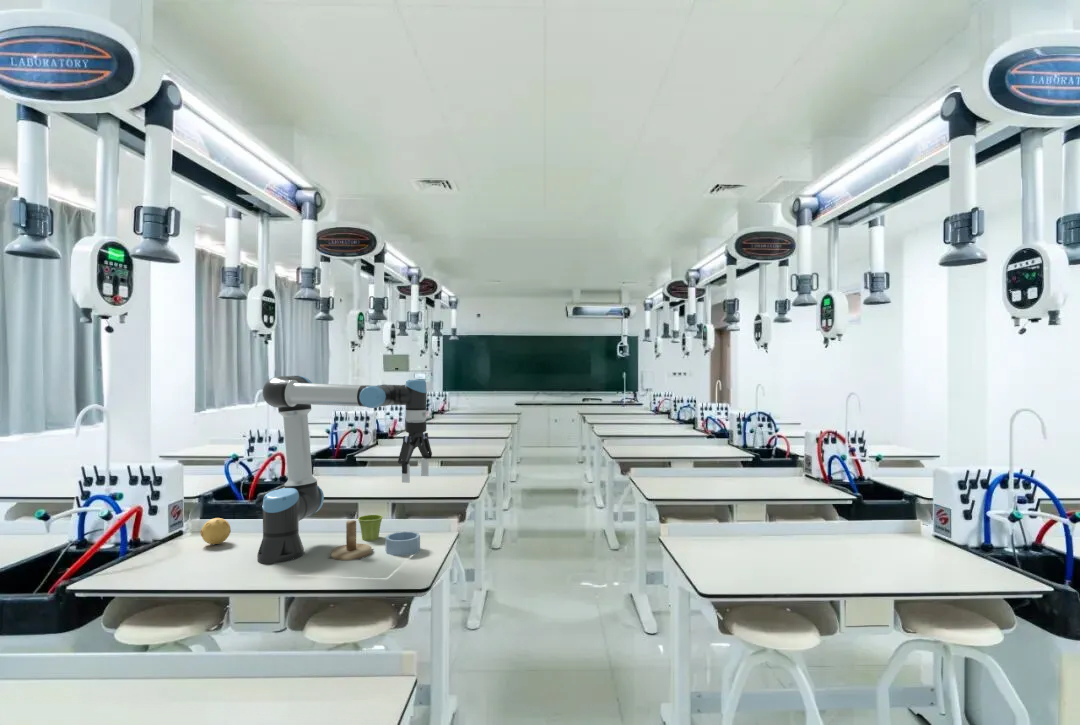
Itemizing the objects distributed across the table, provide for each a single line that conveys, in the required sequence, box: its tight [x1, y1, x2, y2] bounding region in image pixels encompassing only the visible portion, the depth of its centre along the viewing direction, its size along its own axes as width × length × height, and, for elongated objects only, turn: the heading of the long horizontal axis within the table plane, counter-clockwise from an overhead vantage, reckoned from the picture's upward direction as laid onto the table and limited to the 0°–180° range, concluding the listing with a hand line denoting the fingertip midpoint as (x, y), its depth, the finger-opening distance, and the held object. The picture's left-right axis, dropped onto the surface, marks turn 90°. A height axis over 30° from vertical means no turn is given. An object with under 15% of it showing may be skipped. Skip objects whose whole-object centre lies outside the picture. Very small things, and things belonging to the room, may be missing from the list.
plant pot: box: [357, 514, 383, 542], centre depth 227 cm, size 9×9×9 cm
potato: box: [200, 517, 231, 545], centre depth 221 cm, size 10×10×10 cm
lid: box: [330, 519, 373, 561], centre depth 208 cm, size 14×14×12 cm
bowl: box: [384, 531, 421, 556], centre depth 211 cm, size 12×12×6 cm
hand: (415, 479), depth 212 cm, fingers open, 13 cm apart
